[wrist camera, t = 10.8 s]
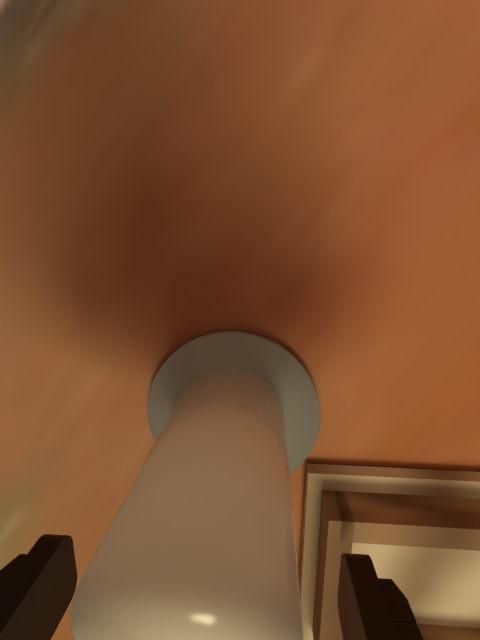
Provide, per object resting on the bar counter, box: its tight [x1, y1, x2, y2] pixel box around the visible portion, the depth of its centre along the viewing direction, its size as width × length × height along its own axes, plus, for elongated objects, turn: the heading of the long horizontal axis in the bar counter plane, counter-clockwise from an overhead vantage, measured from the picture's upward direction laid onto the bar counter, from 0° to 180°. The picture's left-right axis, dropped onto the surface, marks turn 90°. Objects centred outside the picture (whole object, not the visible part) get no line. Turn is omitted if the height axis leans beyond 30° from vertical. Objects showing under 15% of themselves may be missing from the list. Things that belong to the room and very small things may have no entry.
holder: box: [299, 463, 480, 640], centre depth 19 cm, size 12×12×3 cm
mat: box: [148, 330, 320, 474], centre depth 18 cm, size 9×9×1 cm
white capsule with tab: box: [70, 367, 304, 640], centre depth 13 cm, size 8×6×10 cm
